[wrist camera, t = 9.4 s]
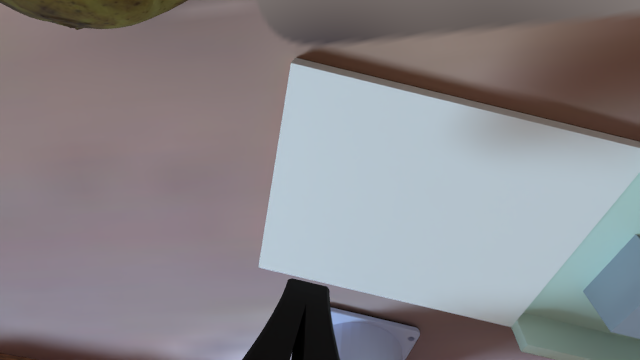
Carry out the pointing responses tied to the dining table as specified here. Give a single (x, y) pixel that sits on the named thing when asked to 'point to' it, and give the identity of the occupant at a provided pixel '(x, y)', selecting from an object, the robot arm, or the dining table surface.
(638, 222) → the tray
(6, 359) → the wooden box
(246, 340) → the dining table surface
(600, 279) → the tile
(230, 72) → the dining table surface
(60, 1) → the avocado
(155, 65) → the dining table surface
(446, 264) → the board
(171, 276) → the dining table surface
